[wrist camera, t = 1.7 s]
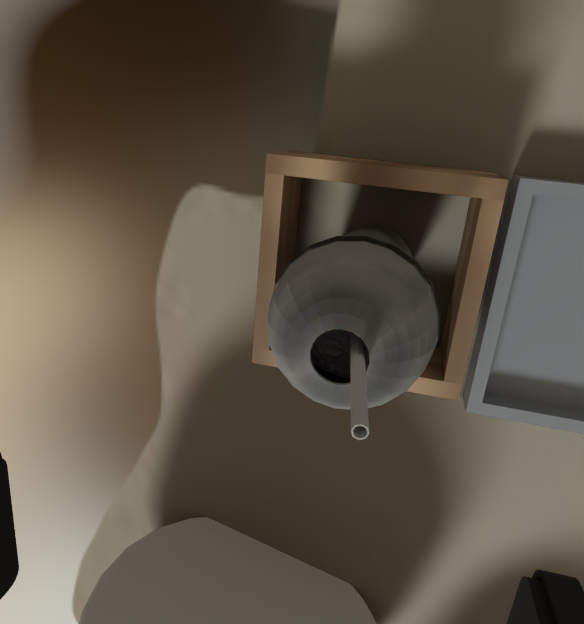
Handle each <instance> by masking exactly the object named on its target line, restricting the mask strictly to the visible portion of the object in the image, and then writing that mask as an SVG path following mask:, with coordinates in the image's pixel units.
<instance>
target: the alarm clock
mask: <svg viewBox="0 0 584 624" xmlns="http://www.w3.org/2000/svg"><path fill="white" fill-rule="evenodd" d="M79 624H377V623H376V621H375V619H374V618H373V616H372V614H371V612H370V610H369V608H368V606H367V605H366V603H365V601H364V599H363V598H362V597H361V596H360V594H359V593H358V592H357V591H356V589H355V588H354V587H353V586H352V585H351V584H349V583H347V582H345V581H343V580H341V579H339V578H337V577H335V576H332V575H330V574H328V573H326V572H324V571H322V570H320V569H317V568H315V567H313V566H311V565H309V564H307V563H305V562H302V561H300V560H298V559H296V558H294V557H292V556H290V555H287V554H285V553H283V552H281V551H279V550H277V549H275V548H272V547H270V546H268V545H266V544H264V543H262V542H260V541H257V540H255V539H253V538H251V537H249V536H247V535H245V534H242V533H240V532H238V531H236V530H234V529H232V528H230V527H227V526H225V525H223V524H221V523H219V522H217V521H215V520H212V519H210V518H207V517H199V518H189V519H186V520H183V521H179V522H176V523H173V524H170V525H167V526H164V527H161V528H158V529H156V530H155V531H153V532H151V533H150V534H148V535H147V536H145V537H143V538H142V539H140V540H139V541H137V542H135V543H134V544H132V545H131V546H129V547H127V548H126V549H125V551H124V552H123V553H122V554H121V555H120V556H119V557H118V558H117V559H116V560H115V561H114V562H113V563H112V564H111V566H110V567H109V568H108V569H107V570H106V571H105V572H104V573H103V574H102V575H101V577H100V579H99V581H98V583H97V585H96V586H95V588H94V590H93V592H92V594H91V596H90V598H89V600H88V602H87V604H86V605H85V607H84V609H83V611H82V614H81V617H80V621H79Z"/></svg>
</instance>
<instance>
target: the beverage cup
mask: <svg viewBox="0 0 584 624" xmlns="http://www.w3.org/2000/svg"><path fill="white" fill-rule="evenodd" d="M267 319H268V335H269V344H270V347H271V350H272V352H273V355H274V358H275V360H276V363H277V365H278V368H279V369H280V371H281V372H282V373H283V374H284V376H285V377H286V378H287V379H288V381H289V382H290V383H291V384H292V386H293V387H295V388H296V389H297V390H299V391H300V392H302V393H303V394H304V395H306V396H307V397H309V398H310V399H311V400H313V401H315V402H318V403H321V404H324V405H326V406H329V407H332V408H336V409H351V433H352V437H354V438H356V439H358V440H362V439H366V438H367V436H368V435H369V417H368V408H371V407H375V406H380V405H383V404H385V403H387V402H388V401H390V400H392V399H394V398H395V397H397V396H399V395H401V394H402V393H404V392H405V391H407V390H408V389H409V388H410V387H411V385H412V384H413V383H414V382H415V381H416V380H417V379H418V378H419V376H420V375H421V374H422V373H423V372H424V370H425V369H426V367H427V364H428V362H429V361H430V359H431V357H432V354H433V352H434V349H435V347H436V345H437V342H438V340H439V337H440V323H441V308H440V305H439V302H438V298H437V295H436V292H435V288H434V285H433V283H432V282H431V280H430V279H429V278H428V276H427V275H426V274H425V272H424V271H423V269H422V268H421V267H420V265H419V264H418V263H417V261H415V260H414V259H413V257H412V254H411V252H410V249H409V247H408V246H407V244H406V243H405V242H404V240H403V239H402V238H401V236H400V235H399V234H397V233H396V232H395V231H393V230H392V229H390V228H387V227H384V226H381V225H366V226H363V227H360V228H357V229H354V230H352V231H350V232H348V233H347V234H345V235H344V236H336V237H333V238H330V239H327V240H324V241H321V242H318V243H315V244H312V245H311V246H309V247H308V248H307V249H305V250H304V251H303V252H301V253H300V254H299V255H297V256H296V257H295V258H293V259H292V260H291V261H290V262H289V263H288V265H287V266H286V268H285V269H284V271H283V272H282V274H281V275H280V277H279V278H278V280H277V281H276V284H275V288H274V291H273V295H272V299H271V302H270V307H269V312H268V318H267Z"/></svg>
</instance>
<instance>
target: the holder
mask: <svg viewBox="0 0 584 624" xmlns="http://www.w3.org/2000/svg"><path fill="white" fill-rule="evenodd" d="M302 178H311V179H320V180H328V181H337V182H345V183H354V184H362V185H371V186H380V187H388V188H397V189H405V190H414V191H423V192H431V193H440V194H448V195H457V196H466V197H471V199H470V204H469V208H468V213H467V218H466V223H465V228H464V233H463V238H462V243H461V248H460V252H459V257H458V262H457V267H456V272H455V277H454V282H453V287H452V292H451V296H450V301H449V306H448V311H447V316H446V321H445V326H444V331H443V336H442V341H441V345H440V347H435V349H434V352H433V354H432V357H431V359H430V361H429V362H428V364H427V367H426V369H425V370H424V372H423V373H422V374H421V375H420V376H419V378H418V379H417V380H416V381H415V382H414V383H413V384H412V385H411V387H410V388H409V389H408V390H407V391H408V392H414V393H419V394H425V395H430V396H435V397H441V398H446V399H452V400H457V401H459V397H460V393H461V389H462V384H463V380H464V375H465V371H466V366H467V362H468V358H469V353H470V349H471V344H472V340H473V335H474V331H475V327H476V322H477V318H478V313H479V309H480V304H481V300H482V296H483V291H484V287H485V282H486V278H487V274H488V269H489V265H490V260H491V256H492V251H493V247H494V243H495V238H496V234H497V229H498V225H499V220H500V216H501V212H502V207H503V203H504V198H505V194H506V189H507V185H508V181H509V180H508V179H506V178H504V177H502V176H500V175H498V174H496V173H492V172H483V171H473V170H464V169H455V168H445V167H436V166H427V165H417V164H408V163H399V162H390V161H380V160H371V159H362V158H352V157H343V156H334V155H325V154H315V153H306V152H296V151H282V152H274V153H267V159H266V172H265V185H264V199H263V213H262V227H261V241H260V255H259V268H258V282H257V296H256V310H255V324H254V338H253V351H252V363H256V364H261V365H267V366H272V367H278V365H277V363H276V360H275V358H274V355H273V352H272V350H271V347H270V344H269V335H268V319H267V318H268V312H269V307H270V302H271V299H272V295H273V291H274V288H275V284H276V281H277V280H278V278H279V277H280V275H281V274H282V272H283V271H284V269H285V268H286V266H287V265H288V263H289V262H290V261H291V260H292V259H293V258H295V249H296V238H297V228H298V218H299V207H300V197H301V186H302Z"/></svg>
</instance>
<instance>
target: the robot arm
mask: <svg viewBox="0 0 584 624" xmlns="http://www.w3.org/2000/svg"><path fill="white" fill-rule="evenodd" d="M16 547H17V546H16V538H15V529H14V521H13V512H12V504H11V495H10V487H9V478H8V470H7V464H6V461H5V460H4V459H2V456H1V453H0V599H1V598H2V597H3V596H4V595H5V594H6V592H7V591H8V590H9V589H10V587H11V586H12V585H13V583H14V581H15V579H16V577H17V574H18V570H19V564H18V555H17V548H16ZM507 624H584V592H583V589H582V587H581V585H580V583H579V581H578V580H577V579H576V578H574V577H569V576H565V575H560V574H556V573H551V572H547V571H542V570H536V572H535V573H534V575H533V577H532V578H530V577H525V576H523V577H522V579H521V581H520V584H519V587H518V590H517V593H516V596H515V599H514V602H513V606H512V609H511V612H510V615H509V618H508V621H507Z"/></svg>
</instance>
